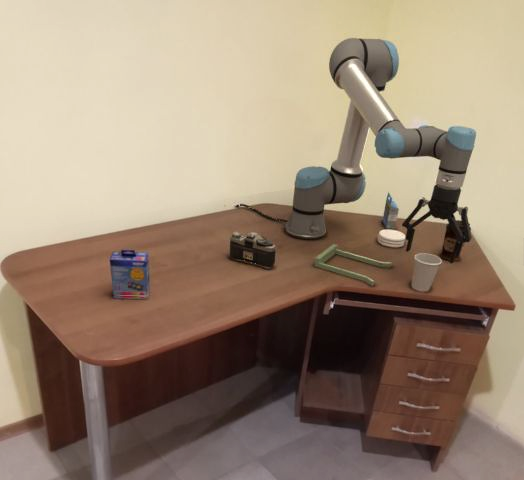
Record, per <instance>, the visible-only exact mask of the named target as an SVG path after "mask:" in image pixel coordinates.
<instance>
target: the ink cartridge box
mask: <svg viewBox="0 0 524 480" xmlns="http://www.w3.org/2000/svg"><path fill="white" fill-rule="evenodd" d="M109 257H110V258H109V265H110V277H111V287H112V298H113V299H121V300H122V299H123V300H148V299H149V298H150V295H151V281H150V279H151V277H150V265H149V264H150V260H149V253H148V252H143V251H142V252H137V251H136V250H135V249H120V251H112V252H111V255H110V256H109ZM149 290H150V292H149ZM148 293H149V295H148ZM113 295H148V296H147V297H140V296H113Z"/></svg>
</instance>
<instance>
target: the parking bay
mask: <svg viewBox="0 0 524 480" xmlns="http://www.w3.org/2000/svg"><path fill="white" fill-rule="evenodd" d="M335 255H338V256H341V257H345V258H348V259H351V260H355V261H358V262H362V263H365V264H369V265H372V266H376V267H379V268H389V269H390V268H391V267H392V262H391V261H381V260H376V259H373V258H369V257H367V256H363V255H359V254H355V253H351V252H348V251H344V250H341V249H338V244H335V243H333V244H332V245H330V246H329V247H328V248H327V249H325V250H324V251H322V252H321V253H319V254H318V255H317V256H316V257H315V259H314V265H313V266H314V267H316V268H319V269H322V270H326V271H329V272H333V273H335V274H340V275H342V276H346V277H349V278H352V279H356V280H359V281H362V282H365V283H366V284H368V285H369V286H371V287H373V286H374V285H375V280H373V279H372V278H370V277H369V276H367V275H363V274H361V273H358V272H354V271H351V270H347V269H344V268H340V267H337V266H333V265H330V264H328V263H325V262H327V261H328V260H330V259H331V258H332V257H333V256H335Z"/></svg>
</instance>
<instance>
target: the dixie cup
mask: <svg viewBox="0 0 524 480" xmlns="http://www.w3.org/2000/svg"><path fill="white" fill-rule="evenodd" d="M413 257H414V263H413V269H412V279H411V288H412V289H413V290H415V291H417V292H421V293H422V292H429V291H430V289H431V287H432V284H433V282H434V280H435V277H436V276H437V274H438V271H439V268H440V267H441V264H442V263H443V260H442V259H441V257H440V256H438V255H435V254H432V253H428V252H419V253H416V254H415V255H414V256H413Z"/></svg>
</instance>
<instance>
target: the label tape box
mask: <svg viewBox="0 0 524 480" xmlns="http://www.w3.org/2000/svg"><path fill="white" fill-rule="evenodd" d="M399 210H400V209H399V207H398V205H397V204H396V202H395V201H394V200H393V197H392V195H391V193H390V192H389V191H388V192H387V194H386V200H385V205H384V210H383V215H382V223H383V225H384V227H385V229H386V230H396V227H397V221H398V215H399Z"/></svg>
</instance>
